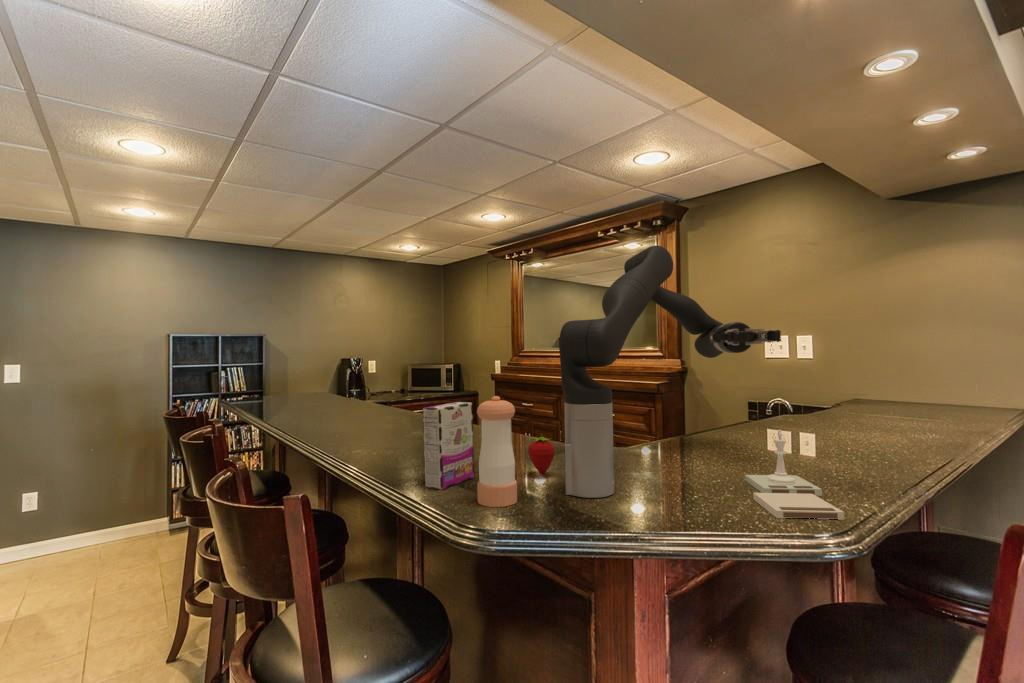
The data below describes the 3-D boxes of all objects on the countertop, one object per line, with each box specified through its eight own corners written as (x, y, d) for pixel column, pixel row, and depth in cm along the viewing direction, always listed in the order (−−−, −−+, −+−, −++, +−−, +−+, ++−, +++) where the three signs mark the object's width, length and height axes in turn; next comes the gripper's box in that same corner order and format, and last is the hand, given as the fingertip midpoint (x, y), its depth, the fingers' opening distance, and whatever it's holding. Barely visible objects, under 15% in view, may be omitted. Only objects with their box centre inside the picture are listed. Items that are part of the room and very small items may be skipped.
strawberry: (528, 479, 103) (527, 432, 104) (528, 471, 111) (527, 427, 111) (556, 479, 103) (555, 432, 103) (554, 471, 111) (553, 426, 111)
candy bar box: (456, 475, 108) (455, 401, 109) (474, 477, 106) (473, 402, 106) (422, 487, 99) (421, 406, 99) (441, 490, 96) (440, 407, 97)
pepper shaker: (477, 495, 92) (475, 394, 93) (515, 494, 93) (513, 394, 93) (478, 508, 85) (476, 398, 85) (519, 506, 86) (517, 397, 86)
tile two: (764, 494, 90) (764, 487, 90) (745, 480, 100) (745, 474, 100) (822, 496, 89) (822, 488, 89) (796, 481, 99) (796, 474, 99)
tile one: (777, 518, 77) (776, 509, 77) (753, 499, 87) (753, 491, 87) (844, 520, 76) (844, 511, 76) (812, 500, 86) (812, 492, 86)
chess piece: (793, 479, 96) (791, 428, 96) (798, 485, 91) (796, 432, 92) (765, 477, 98) (763, 427, 98) (768, 483, 93) (767, 431, 93)
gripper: (701, 323, 123) (721, 319, 107) (761, 322, 121) (790, 317, 105) (702, 353, 123) (722, 353, 107) (761, 352, 121) (791, 352, 105)
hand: (755, 335), depth 106 cm, fingers open, 8 cm apart
